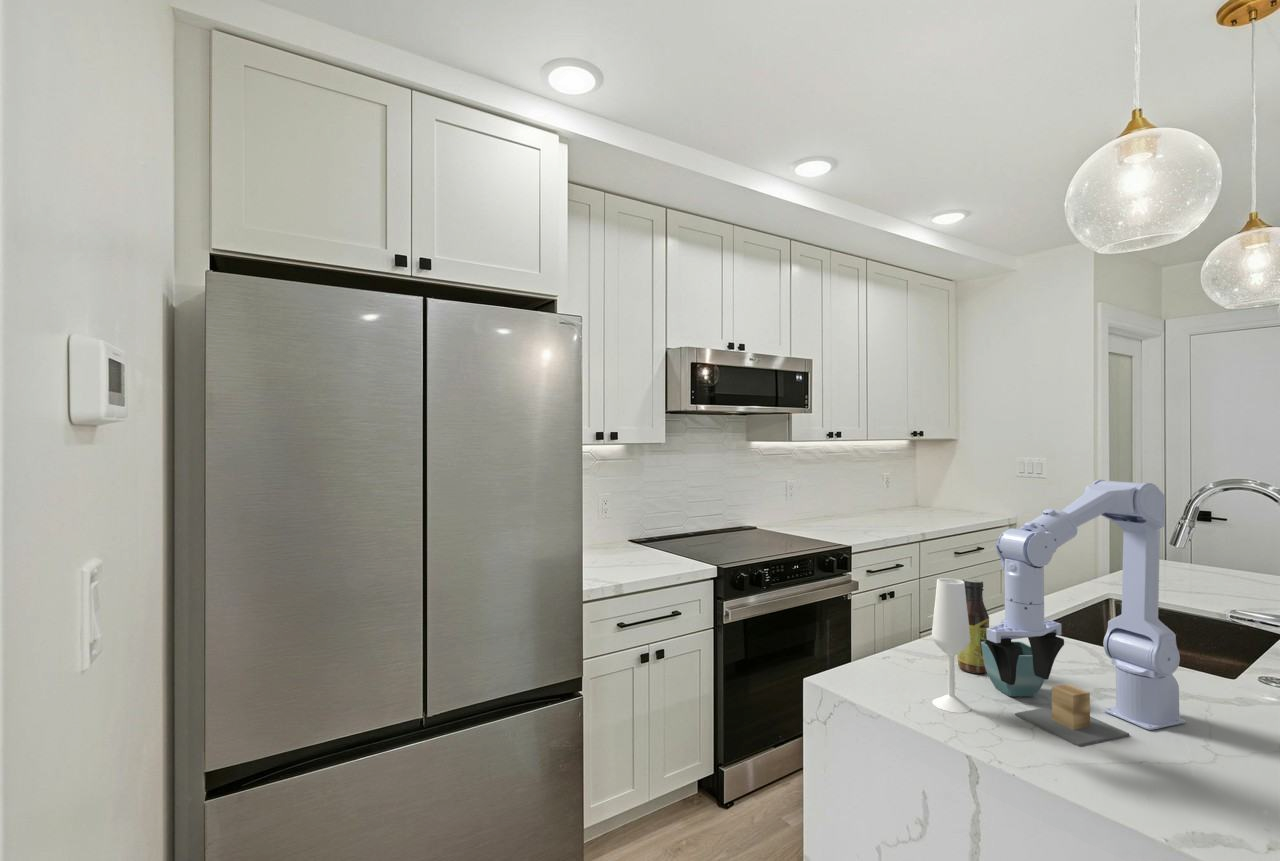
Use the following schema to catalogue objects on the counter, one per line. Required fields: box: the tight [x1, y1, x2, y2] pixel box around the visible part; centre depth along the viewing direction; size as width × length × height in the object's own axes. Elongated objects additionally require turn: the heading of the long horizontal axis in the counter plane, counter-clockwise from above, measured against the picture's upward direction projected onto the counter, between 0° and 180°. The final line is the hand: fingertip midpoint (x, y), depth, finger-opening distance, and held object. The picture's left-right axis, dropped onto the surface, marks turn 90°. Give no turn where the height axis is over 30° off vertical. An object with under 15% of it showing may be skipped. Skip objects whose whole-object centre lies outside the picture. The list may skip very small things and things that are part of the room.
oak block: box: [1051, 683, 1091, 730], centre depth 110 cm, size 4×4×6 cm
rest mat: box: [1014, 706, 1130, 747], centre depth 110 cm, size 12×12×1 cm
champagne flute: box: [931, 577, 972, 714], centre depth 118 cm, size 7×7×24 cm
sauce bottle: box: [957, 578, 990, 674], centre depth 136 cm, size 7×6×20 cm
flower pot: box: [981, 640, 1045, 697], centre depth 124 cm, size 9×9×9 cm
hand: (1024, 680), depth 104 cm, fingers open, 7 cm apart
